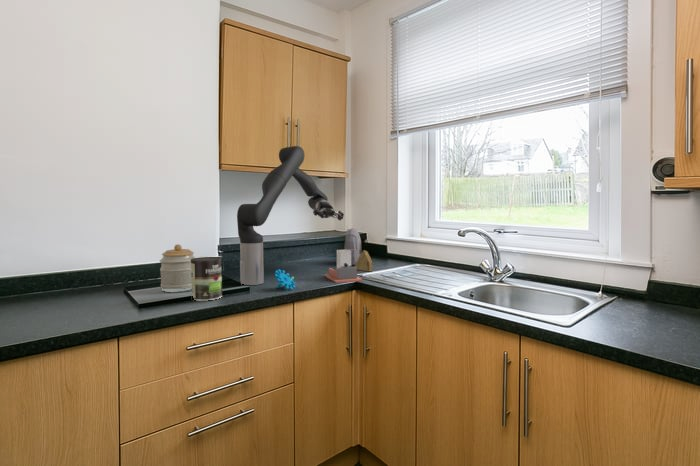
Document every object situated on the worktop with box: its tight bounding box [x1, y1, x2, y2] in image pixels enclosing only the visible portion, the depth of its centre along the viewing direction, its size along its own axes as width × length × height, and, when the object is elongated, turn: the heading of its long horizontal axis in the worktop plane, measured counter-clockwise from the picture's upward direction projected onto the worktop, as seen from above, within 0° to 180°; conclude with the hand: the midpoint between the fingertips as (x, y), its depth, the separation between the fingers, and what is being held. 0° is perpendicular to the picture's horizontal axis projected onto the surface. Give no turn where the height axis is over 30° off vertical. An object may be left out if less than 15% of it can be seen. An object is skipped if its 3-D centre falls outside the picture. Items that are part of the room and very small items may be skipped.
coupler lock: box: [336, 249, 352, 271], centre depth 167 cm, size 5×5×12 cm
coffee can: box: [191, 256, 223, 302], centre depth 134 cm, size 10×10×14 cm
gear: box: [273, 269, 296, 291], centre depth 149 cm, size 11×6×10 cm
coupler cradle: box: [324, 266, 363, 284], centre depth 169 cm, size 12×16×6 cm
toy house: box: [354, 249, 374, 272], centre depth 190 cm, size 11×9×10 cm
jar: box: [159, 243, 196, 289], centre depth 147 cm, size 13×13×18 cm
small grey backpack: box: [343, 227, 363, 266], centre depth 207 cm, size 15×8×20 cm, turn 169°
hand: (331, 217), depth 176 cm, fingers open, 8 cm apart
